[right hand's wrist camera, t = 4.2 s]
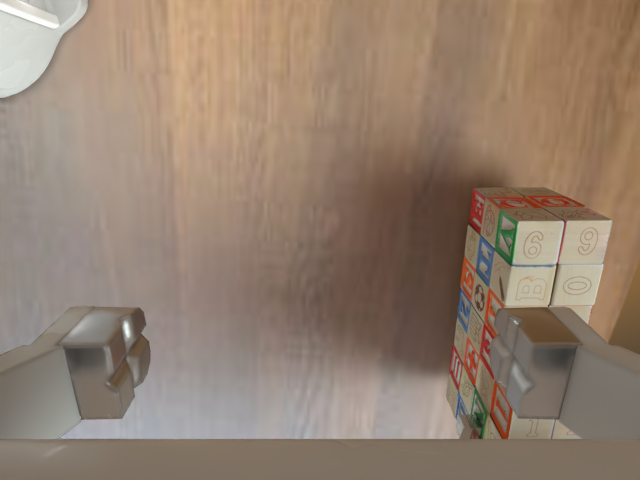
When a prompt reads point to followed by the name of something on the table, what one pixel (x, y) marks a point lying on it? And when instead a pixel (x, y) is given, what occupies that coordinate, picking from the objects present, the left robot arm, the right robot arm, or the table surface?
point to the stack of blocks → (519, 291)
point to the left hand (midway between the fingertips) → (511, 420)
